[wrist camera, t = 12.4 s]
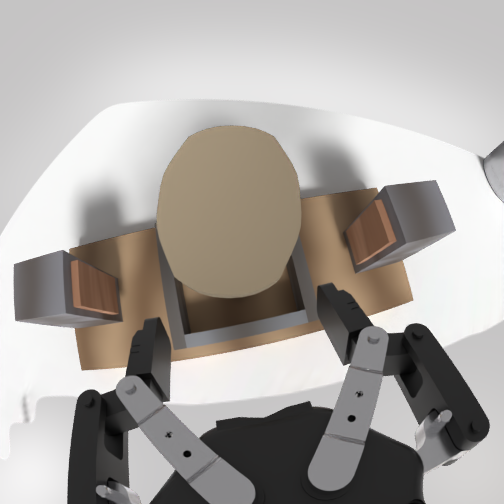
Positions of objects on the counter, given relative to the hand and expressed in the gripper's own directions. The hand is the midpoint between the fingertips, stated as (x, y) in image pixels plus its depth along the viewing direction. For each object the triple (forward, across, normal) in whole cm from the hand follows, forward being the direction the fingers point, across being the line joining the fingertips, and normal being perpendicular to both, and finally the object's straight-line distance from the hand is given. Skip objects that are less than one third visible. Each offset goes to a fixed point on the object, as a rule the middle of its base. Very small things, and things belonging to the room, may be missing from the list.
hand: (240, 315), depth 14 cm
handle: (+9, 0, +4) cm, 10 cm away
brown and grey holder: (+11, 0, +5) cm, 12 cm away
